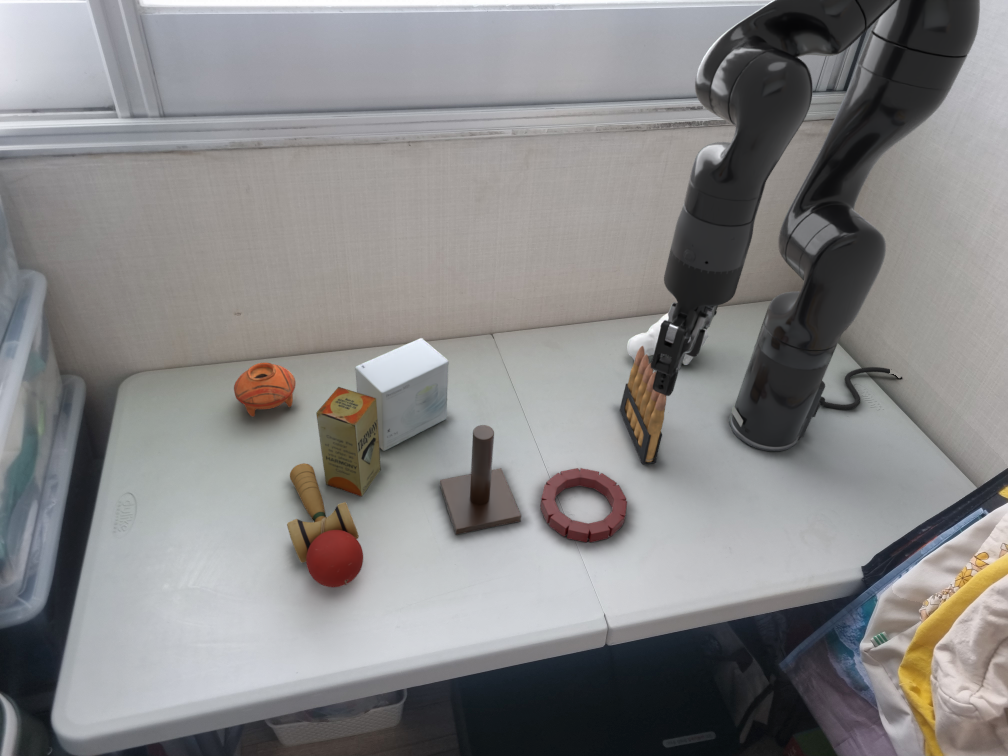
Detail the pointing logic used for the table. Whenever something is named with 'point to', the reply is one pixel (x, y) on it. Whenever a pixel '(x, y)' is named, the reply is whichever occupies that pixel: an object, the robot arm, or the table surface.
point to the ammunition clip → (643, 409)
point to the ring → (576, 528)
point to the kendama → (324, 534)
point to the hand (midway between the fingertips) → (675, 371)
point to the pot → (264, 387)
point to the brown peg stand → (480, 490)
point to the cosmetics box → (405, 390)
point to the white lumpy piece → (653, 341)
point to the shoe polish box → (349, 440)
